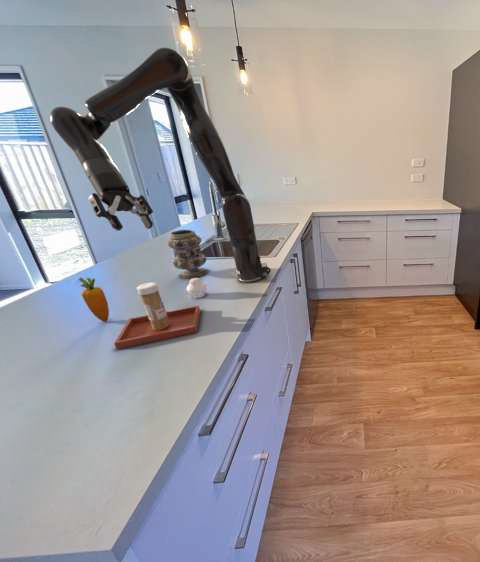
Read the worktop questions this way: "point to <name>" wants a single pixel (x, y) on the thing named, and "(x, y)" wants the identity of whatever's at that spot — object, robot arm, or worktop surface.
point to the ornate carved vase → (187, 253)
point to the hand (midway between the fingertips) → (135, 228)
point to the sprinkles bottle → (153, 305)
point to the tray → (143, 332)
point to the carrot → (95, 299)
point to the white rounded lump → (196, 288)
